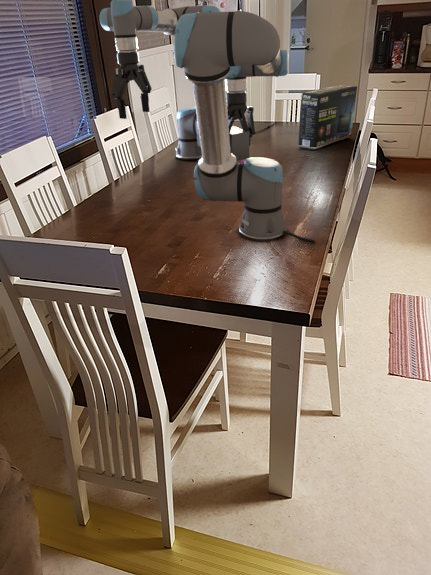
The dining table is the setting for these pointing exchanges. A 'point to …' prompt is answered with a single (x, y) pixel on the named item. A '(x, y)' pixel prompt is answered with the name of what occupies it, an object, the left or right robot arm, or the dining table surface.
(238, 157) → the box
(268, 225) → the right robot arm
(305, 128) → the router box
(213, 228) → the dining table surface
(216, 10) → the left robot arm
